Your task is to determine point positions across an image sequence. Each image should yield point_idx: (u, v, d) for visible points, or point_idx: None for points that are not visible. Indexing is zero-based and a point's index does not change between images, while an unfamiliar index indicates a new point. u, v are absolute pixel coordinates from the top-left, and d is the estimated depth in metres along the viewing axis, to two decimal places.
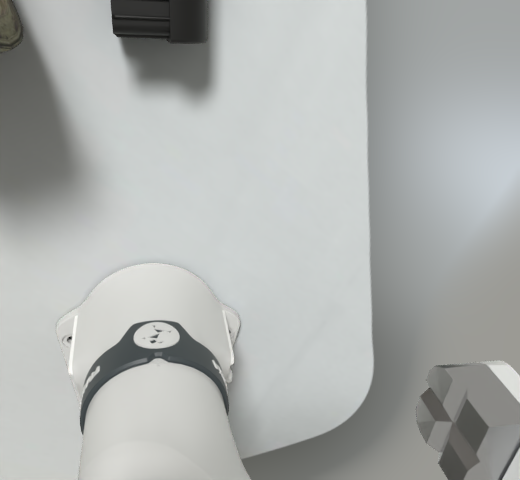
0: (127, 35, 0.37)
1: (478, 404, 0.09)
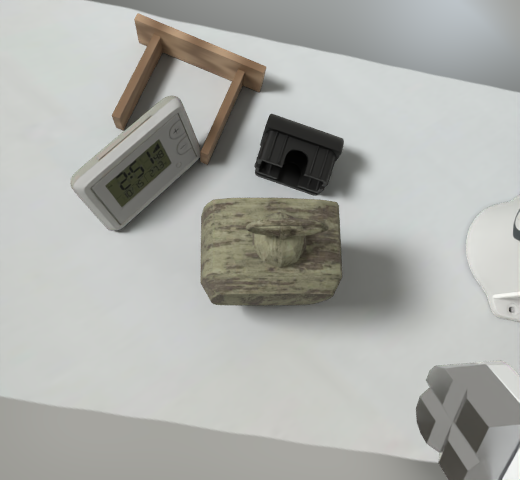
0: (328, 178, 0.62)
1: (478, 404, 0.09)
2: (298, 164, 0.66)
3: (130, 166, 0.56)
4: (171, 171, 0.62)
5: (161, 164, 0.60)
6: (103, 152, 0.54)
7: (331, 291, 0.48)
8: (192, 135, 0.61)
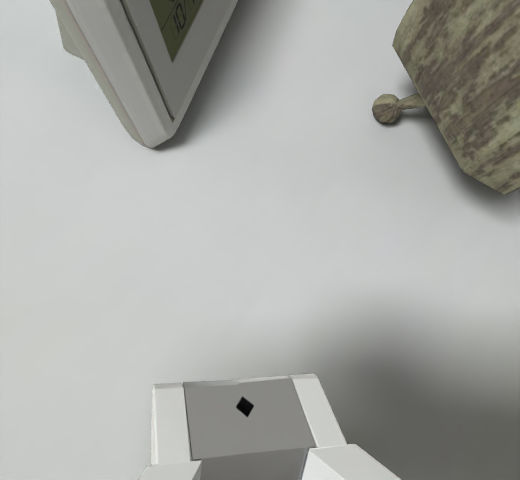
0: None
1: (258, 424, 0.08)
2: None
3: None
4: None
5: None
6: None
7: None
8: None
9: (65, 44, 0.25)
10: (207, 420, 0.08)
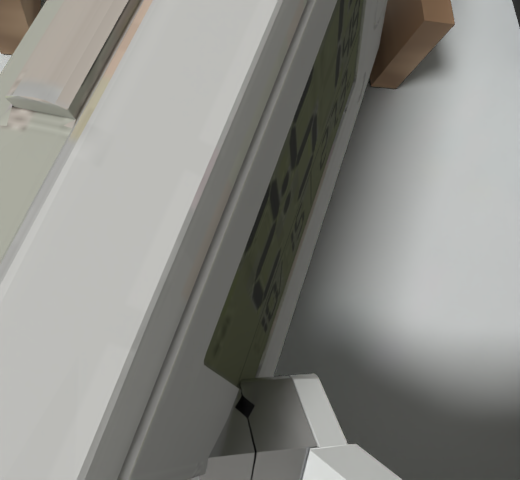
0: None
1: (258, 424, 0.08)
2: None
3: (294, 123, 0.07)
4: (349, 123, 0.14)
5: (343, 90, 0.11)
6: (85, 8, 0.04)
7: None
8: None
9: None
10: None
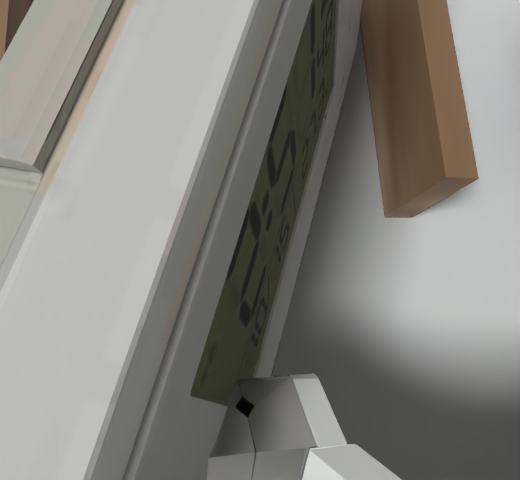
0: None
1: (258, 424, 0.08)
2: None
3: (270, 143, 0.07)
4: (330, 128, 0.14)
5: (321, 98, 0.11)
6: (45, 58, 0.04)
7: None
8: None
9: None
10: None
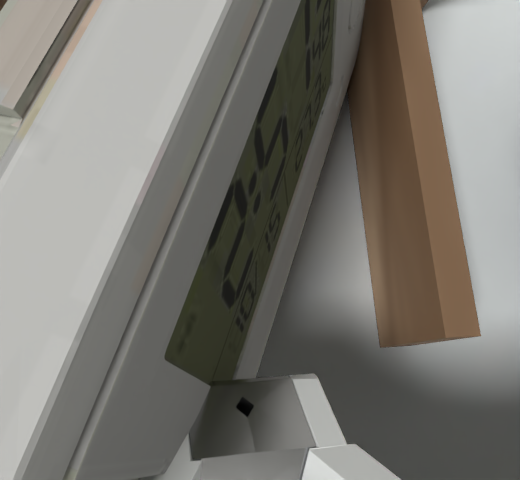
0: None
1: (258, 424, 0.08)
2: None
3: (258, 123, 0.07)
4: (328, 125, 0.14)
5: (318, 92, 0.12)
6: (33, 12, 0.04)
7: None
8: None
9: None
10: (207, 420, 0.08)
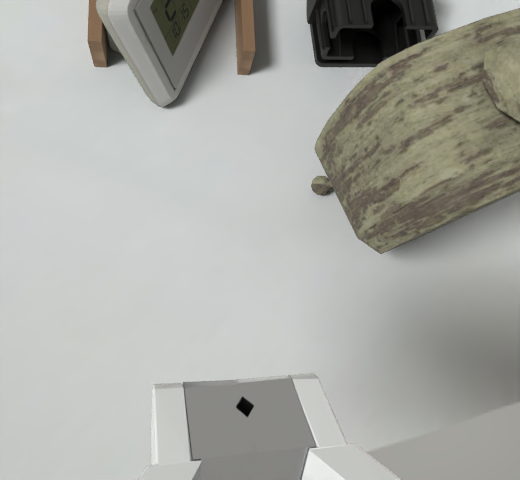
0: None
1: (258, 425, 0.08)
2: (371, 29, 0.45)
3: None
4: None
5: None
6: None
7: None
8: None
9: (111, 45, 0.41)
10: (207, 420, 0.08)
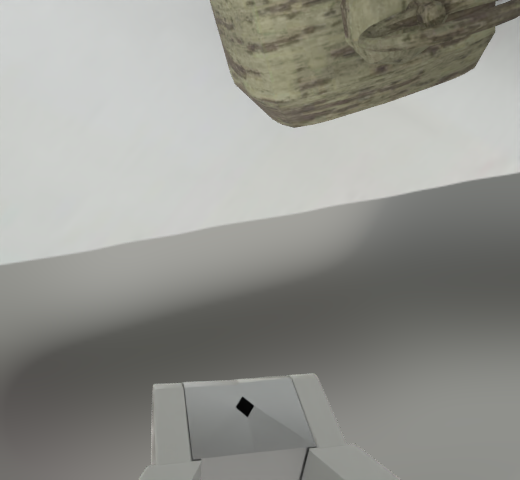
0: None
1: (258, 424, 0.08)
2: None
3: None
4: None
5: None
6: None
7: (475, 63, 0.27)
8: None
9: None
10: (207, 420, 0.08)
